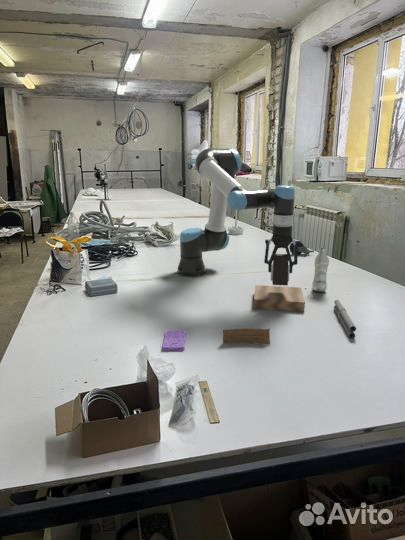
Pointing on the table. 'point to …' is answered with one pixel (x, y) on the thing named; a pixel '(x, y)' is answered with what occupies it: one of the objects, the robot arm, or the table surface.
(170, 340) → the sponges
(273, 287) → the wooden board
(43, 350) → the table surface
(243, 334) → the wood plank
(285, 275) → the phone stand
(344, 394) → the table surface
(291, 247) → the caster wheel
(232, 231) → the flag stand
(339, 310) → the metal rod assembly
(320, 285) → the plastic bottle
